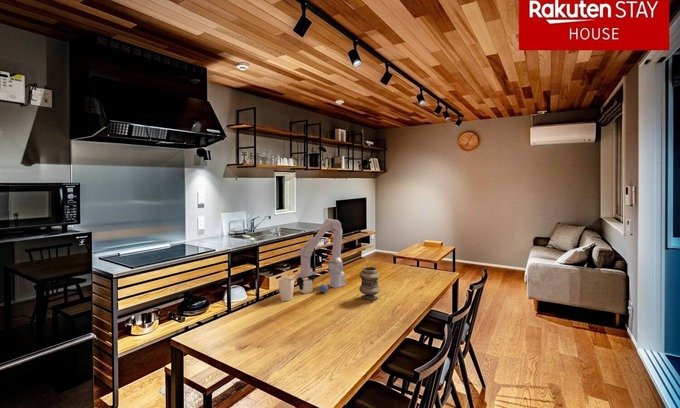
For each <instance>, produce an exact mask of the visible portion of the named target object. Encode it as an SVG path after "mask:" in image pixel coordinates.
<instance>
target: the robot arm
mask: <svg viewBox="0 0 680 408" xmlns="http://www.w3.org/2000/svg"><path fill="white" fill-rule="evenodd" d="M327 232H332V233H333V240H332V253H331V254H332V255H331V257H330V258H329V262H328V263H327V264H328V265H327V268H328V270H329V283H328V284H326V285H327V287H330V288H331V287H332V288H334V289H335V288H336V289H337V288H340V287H344V286H346V285H347V284H346V277H345V276H346V275H345V272H344V266H343V265H344V264H343V260H342V258H341V256H342V255H341V254H342V253H341V252H342V243H343V242H342V241H343V228H342V222H340V221H339V219H333V218H329V217H328V218H327V219H325V220H324V222H322V226H321V227H320V228H319V230H318V231H317V233H316V234H315V235H314V237H311V238H309V239H308V241H307V243H306V244H304V245H303V247H302V246H301V248H300V249H299V252H298V254H299V256H300V273H299V274H296V275H294V280H296V281H297V285H298V288H299V287H300V289H301V290H303V281H304V280H303V279H304V278H308V279H310V280H312V284H313V283H314V280H315V279H316V276H317V271H311V257H312V255H313V251H314V250H315V249H316V248H317V246H318V245H319V242H320V241H319V240H321V239H322V237H324V235H325V234H326V233H327Z"/></svg>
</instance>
